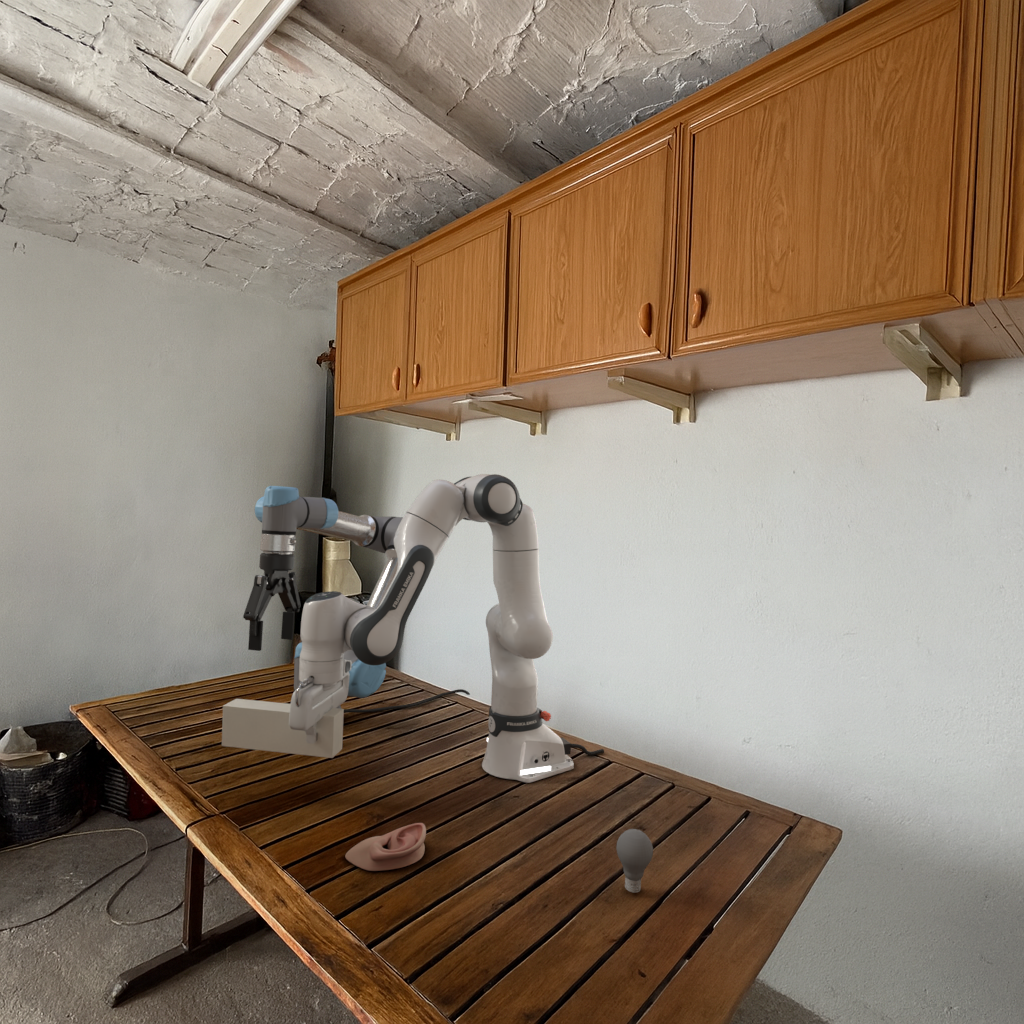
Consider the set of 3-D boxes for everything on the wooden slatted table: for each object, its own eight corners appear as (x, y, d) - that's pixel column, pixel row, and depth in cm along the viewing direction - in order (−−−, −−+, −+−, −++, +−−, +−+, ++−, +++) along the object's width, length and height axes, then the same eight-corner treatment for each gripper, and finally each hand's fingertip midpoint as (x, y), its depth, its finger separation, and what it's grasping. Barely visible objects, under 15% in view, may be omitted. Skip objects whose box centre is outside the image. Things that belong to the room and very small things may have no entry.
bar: (221, 746, 132) (222, 705, 132) (235, 737, 137) (236, 698, 137) (332, 758, 129) (334, 716, 128) (342, 749, 133) (343, 708, 133)
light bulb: (610, 879, 108) (613, 822, 108) (644, 879, 109) (647, 822, 109) (619, 902, 102) (622, 840, 102) (655, 901, 103) (658, 840, 103)
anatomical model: (337, 842, 109) (366, 811, 120) (336, 865, 109) (365, 832, 120) (410, 854, 106) (432, 821, 117) (409, 878, 106) (432, 842, 118)
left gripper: (262, 556, 134) (255, 656, 134) (318, 551, 158) (312, 636, 158) (229, 553, 135) (223, 653, 135) (290, 549, 160) (285, 633, 159)
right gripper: (312, 686, 121) (310, 758, 121) (355, 659, 141) (352, 721, 141) (281, 683, 122) (279, 754, 122) (328, 657, 142) (326, 718, 142)
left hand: (271, 644), depth 146 cm, fingers open, 13 cm apart
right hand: (319, 736), depth 132 cm, fingers closed on bar, 5 cm apart
